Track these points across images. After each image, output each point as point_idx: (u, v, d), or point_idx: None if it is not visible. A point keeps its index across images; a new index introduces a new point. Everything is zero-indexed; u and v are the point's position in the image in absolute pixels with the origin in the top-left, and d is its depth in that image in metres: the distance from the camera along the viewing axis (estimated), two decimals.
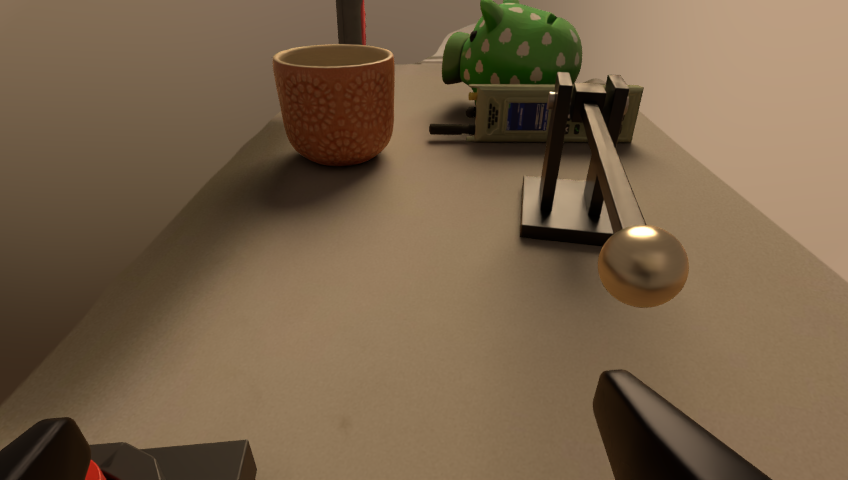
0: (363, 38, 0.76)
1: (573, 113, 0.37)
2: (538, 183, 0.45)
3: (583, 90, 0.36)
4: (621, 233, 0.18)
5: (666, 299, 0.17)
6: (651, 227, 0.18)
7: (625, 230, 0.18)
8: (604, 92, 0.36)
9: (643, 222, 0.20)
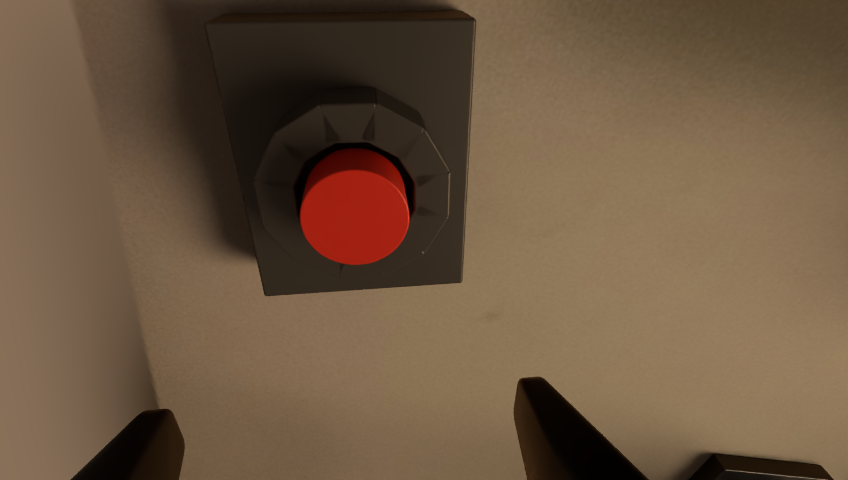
0: None
1: None
2: None
3: None
4: None
5: None
6: None
7: None
8: None
9: None
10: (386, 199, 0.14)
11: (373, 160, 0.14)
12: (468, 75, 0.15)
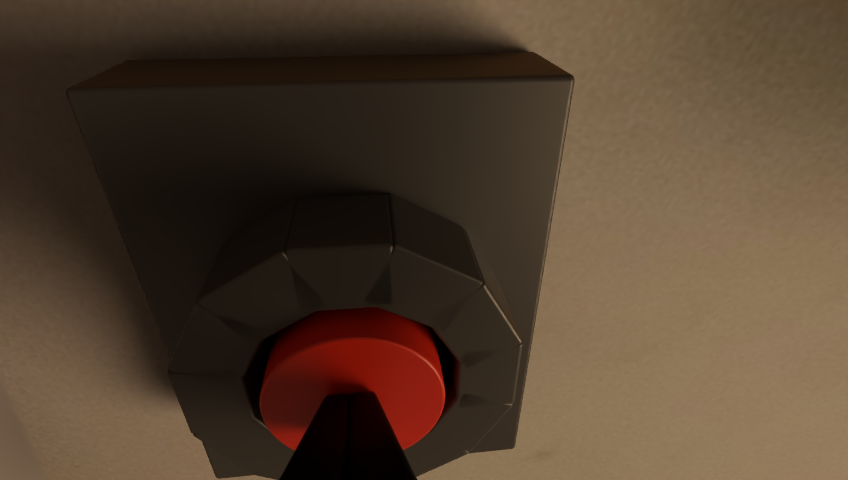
0: None
1: None
2: None
3: None
4: None
5: None
6: None
7: None
8: None
9: None
10: (407, 376, 0.08)
11: None
12: (552, 169, 0.09)
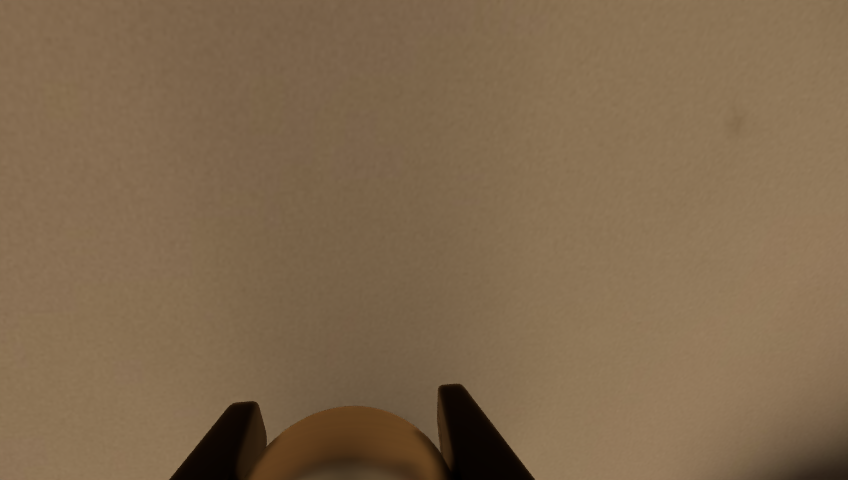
0: None
1: None
2: None
3: None
4: None
5: (283, 442, 0.06)
6: None
7: None
8: None
9: None
10: None
11: None
12: None
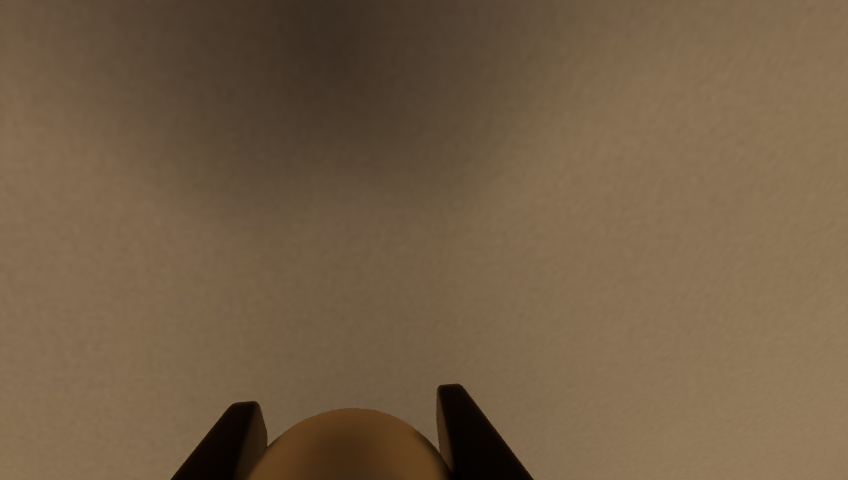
0: None
1: None
2: None
3: None
4: None
5: (286, 434, 0.06)
6: None
7: None
8: None
9: None
10: None
11: None
12: None
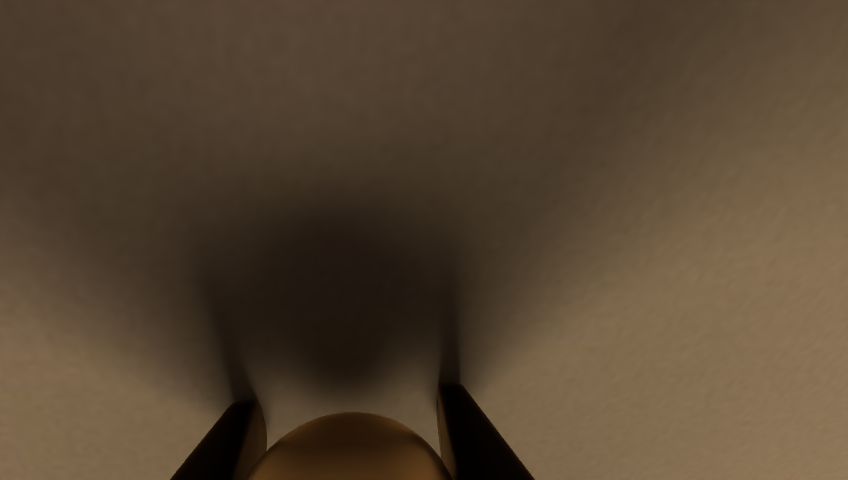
0: None
1: None
2: None
3: None
4: None
5: (287, 435, 0.06)
6: None
7: None
8: None
9: None
10: None
11: None
12: None
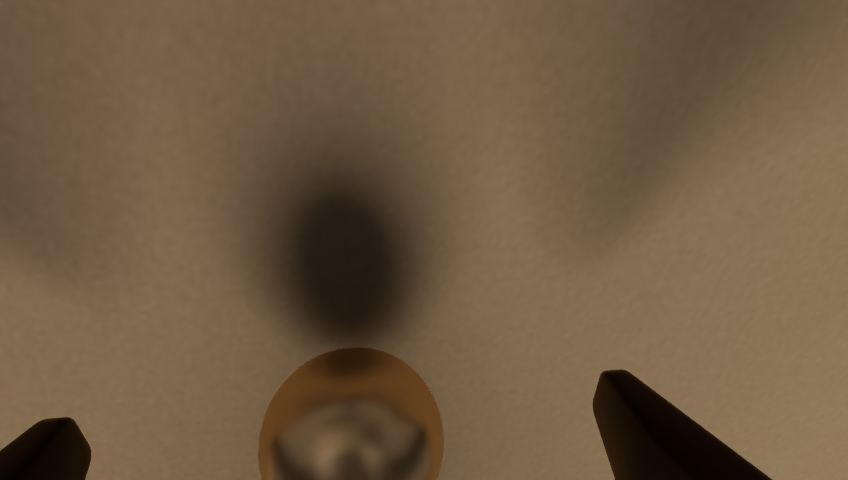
0: None
1: None
2: None
3: None
4: None
5: (308, 361, 0.09)
6: None
7: None
8: None
9: None
10: None
11: None
12: None
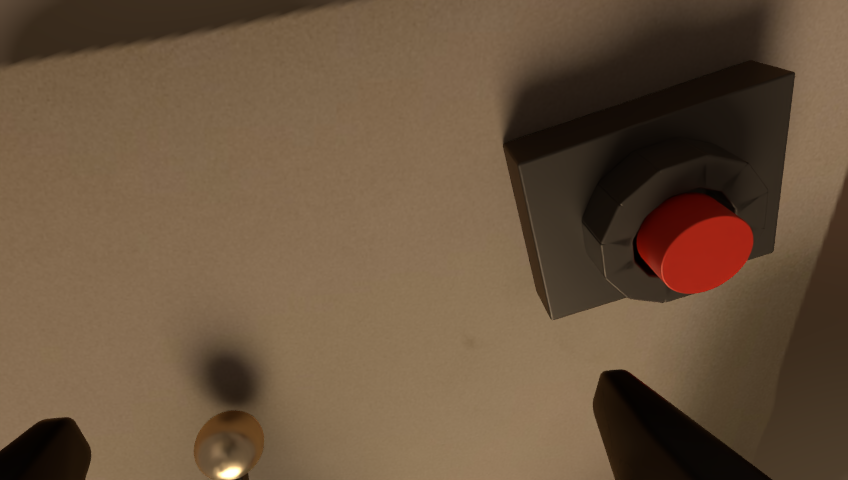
0: None
1: None
2: None
3: None
4: (244, 462, 0.22)
5: (214, 416, 0.23)
6: (219, 472, 0.22)
7: (241, 466, 0.22)
8: None
9: None
10: (724, 272, 0.17)
11: None
12: None
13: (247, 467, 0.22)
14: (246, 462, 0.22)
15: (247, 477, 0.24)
